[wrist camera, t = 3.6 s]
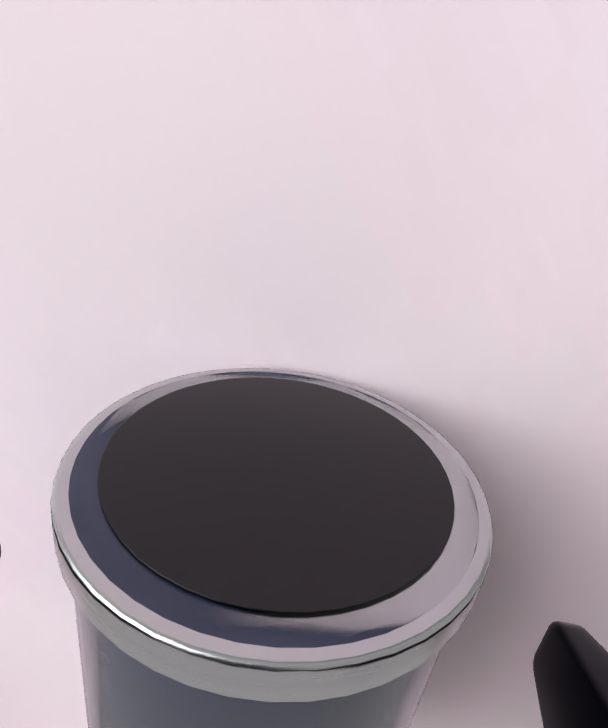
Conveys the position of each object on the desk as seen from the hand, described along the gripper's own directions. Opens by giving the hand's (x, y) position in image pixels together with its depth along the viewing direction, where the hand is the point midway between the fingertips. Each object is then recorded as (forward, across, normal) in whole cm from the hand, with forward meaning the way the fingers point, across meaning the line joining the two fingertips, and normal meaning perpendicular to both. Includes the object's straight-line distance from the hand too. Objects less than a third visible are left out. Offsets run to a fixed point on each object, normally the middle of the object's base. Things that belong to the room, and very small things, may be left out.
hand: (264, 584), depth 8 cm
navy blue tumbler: (+1, 0, +7) cm, 7 cm away
